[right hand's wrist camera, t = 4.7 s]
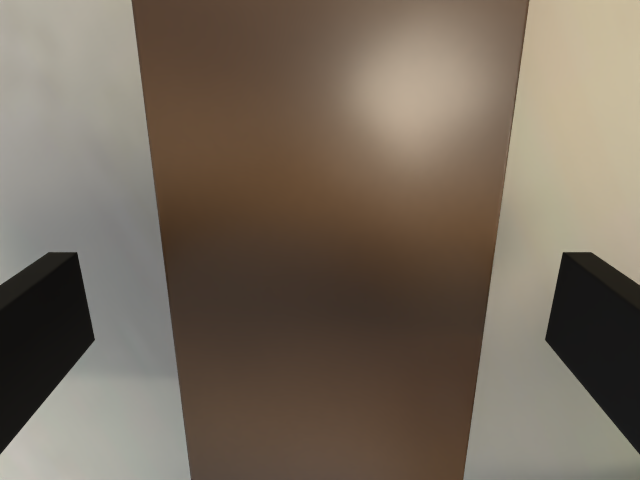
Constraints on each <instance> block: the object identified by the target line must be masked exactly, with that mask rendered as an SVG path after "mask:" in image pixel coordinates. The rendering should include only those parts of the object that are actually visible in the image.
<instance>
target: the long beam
mask: <svg viewBox="0 0 640 480" xmlns="http://www.w3.org/2000/svg"><path fill="white" fill-rule="evenodd" d="M528 6H529V0H132V7H133V15H134V23H135V31H136V39H137V48H138V56H139V64H140V72H141V80H142V88H143V96H144V104H145V112H146V120H147V128H148V136H149V144H150V152H151V160H152V168H153V176H154V185H155V193H156V201H157V209H158V217H159V225H160V233H161V241H162V249H163V257H164V265H165V273H166V281H167V289H168V297H169V305H170V313H171V322H172V330H173V338H174V346H175V354H176V362H177V370H178V378H179V386H180V394H181V402H182V410H183V418H184V426H185V434H186V442H187V451H188V459H189V467H190V475H191V480H463V477H464V469H465V462H466V455H467V448H468V441H469V433H470V426H471V419H472V412H473V404H474V397H475V390H476V383H477V375H478V368H479V361H480V354H481V346H482V339H483V332H484V325H485V317H486V310H487V303H488V296H489V288H490V281H491V274H492V267H493V259H494V252H495V245H496V238H497V230H498V223H499V216H500V209H501V202H502V194H503V187H504V180H505V173H506V165H507V158H508V151H509V144H510V136H511V129H512V122H513V115H514V107H515V100H516V93H517V86H518V78H519V71H520V64H521V57H522V49H523V42H524V35H525V28H526V20H527V13H528Z"/></svg>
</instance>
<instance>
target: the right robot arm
mask: <svg viewBox="0 0 640 480" xmlns="http://www.w3.org/2000/svg"><path fill="white" fill-rule="evenodd" d="M94 340H95V338H94V333H93V328H92V323H91V318H90V313H89V308H88V304H87V299H86V294H85V289H84V284H83V279H82V274H81V269H80V264H79V259H78V255H77V252H49V253H47V254H46V255H44V256H43V257H41V258H40V259H38V260H37V261H35V262H34V263H32V264H31V265H29V266H28V267H26V268H25V269H24V270H22V271H21V272H19V273H18V274H16V275H15V276H13V277H12V278H10V279H9V280H7V281H6V282H4V283H3V284H2V285H0V454H1V453H2V452H3V450H4V449H5V448H6V447H7V446H8V444H9V443H10V442H11V441H12V440H13V438H14V437H15V436H16V435H17V434H18V432H19V431H20V430H21V429H22V427H23V426H24V425H25V424H26V423H27V421H28V420H29V419H30V418H31V417H32V415H33V414H34V413H35V412H36V411H37V409H38V408H39V407H40V406H41V405H42V403H43V402H44V401H45V400H46V398H47V397H48V396H49V395H50V394H51V392H52V391H53V390H54V389H55V388H56V386H57V385H58V384H59V383H60V382H61V380H62V379H63V378H64V377H65V375H66V374H67V373H68V372H69V371H70V369H71V368H72V367H73V366H74V365H75V363H76V362H77V361H78V360H79V359H80V357H81V356H82V355H83V354H84V352H85V351H86V350H87V349H88V348H89V346H90V345H91V344H92V343H93V342H94ZM545 340H546V342H547V343H548V344H549V345H550V346H551V348H552V349H553V350H554V351H555V352H556V354H557V355H558V356H559V357H560V359H561V360H562V361H563V362H564V363H565V365H566V366H567V367H568V368H569V369H570V371H571V372H572V373H573V374H574V375H575V377H576V378H577V379H578V380H579V382H580V383H581V384H582V385H583V386H584V388H585V389H586V390H587V391H588V392H589V394H590V395H591V396H592V397H593V398H594V400H595V401H596V402H597V403H598V405H599V406H600V407H601V408H602V409H603V411H604V412H605V413H606V414H607V415H608V417H609V418H610V419H611V420H612V421H613V423H614V424H615V425H616V426H617V427H618V429H619V430H620V431H621V432H622V434H623V435H624V436H625V437H626V438H627V440H628V441H629V442H630V443H631V444H632V446H633V447H634V448H635V449H636V450H637V452H638V453H639V454H640V285H638V284H637V283H636V282H634V281H633V280H631V279H630V278H628V277H627V276H625V275H624V274H622V273H621V272H619V271H618V270H616V269H615V268H614V267H612V266H611V265H609V264H608V263H606V262H605V261H603V260H602V259H600V258H599V257H597V256H596V255H594V254H593V253H591V252H563V255H562V259H561V264H560V269H559V274H558V279H557V284H556V289H555V294H554V299H553V304H552V308H551V313H550V318H549V323H548V328H547V333H546V338H545Z"/></svg>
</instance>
